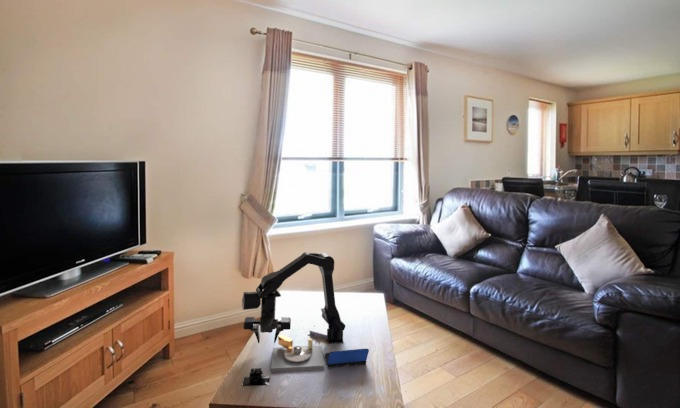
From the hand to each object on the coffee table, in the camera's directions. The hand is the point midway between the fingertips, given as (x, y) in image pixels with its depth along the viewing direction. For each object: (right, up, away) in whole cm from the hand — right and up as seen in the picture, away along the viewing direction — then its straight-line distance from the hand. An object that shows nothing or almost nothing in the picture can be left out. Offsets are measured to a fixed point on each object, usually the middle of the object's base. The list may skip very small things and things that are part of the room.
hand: (266, 342), depth 151 cm
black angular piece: (0, -7, -19) cm, 20 cm away
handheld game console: (+33, -6, -6) cm, 34 cm away
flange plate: (+12, -3, -4) cm, 13 cm away
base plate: (+13, -5, -5) cm, 15 cm away
